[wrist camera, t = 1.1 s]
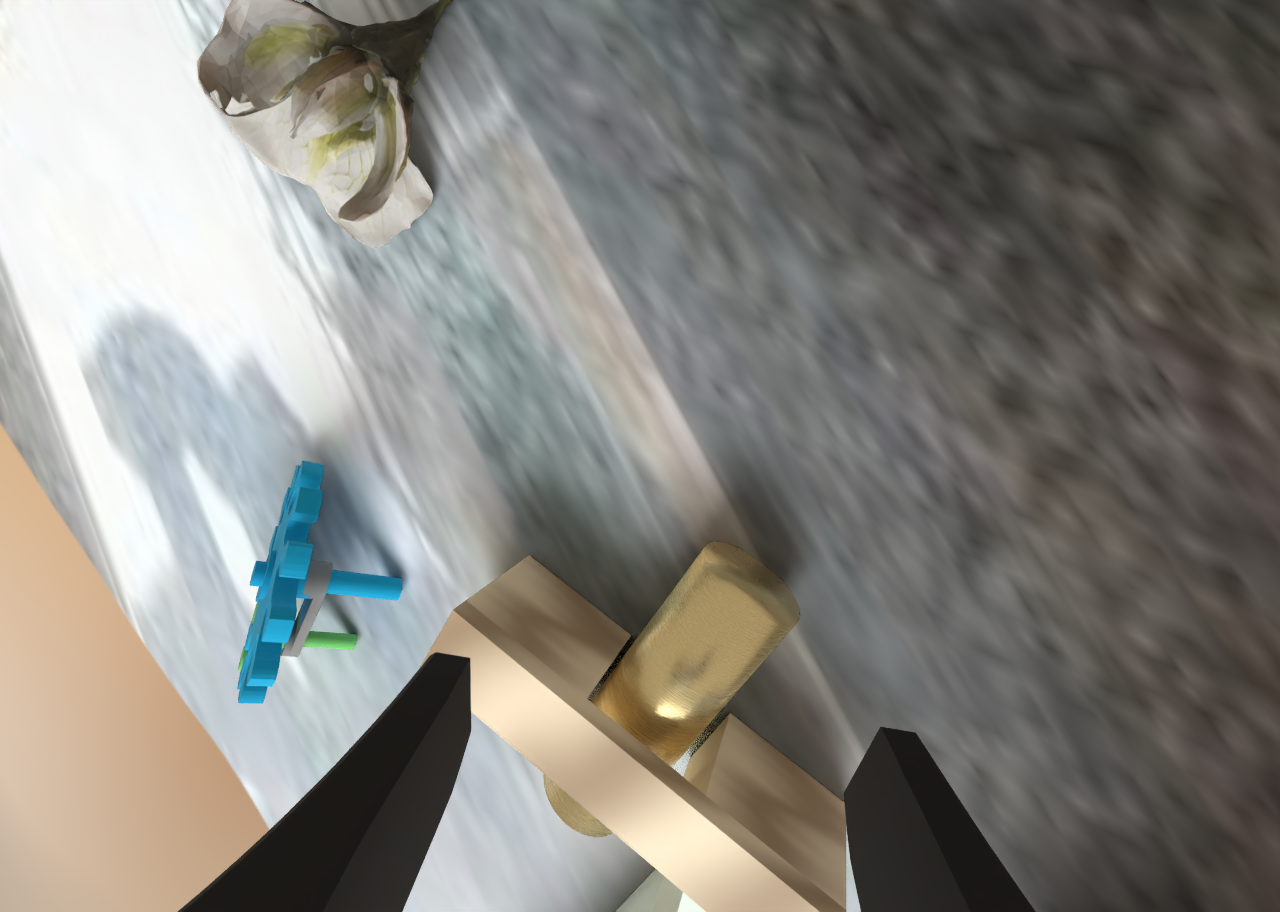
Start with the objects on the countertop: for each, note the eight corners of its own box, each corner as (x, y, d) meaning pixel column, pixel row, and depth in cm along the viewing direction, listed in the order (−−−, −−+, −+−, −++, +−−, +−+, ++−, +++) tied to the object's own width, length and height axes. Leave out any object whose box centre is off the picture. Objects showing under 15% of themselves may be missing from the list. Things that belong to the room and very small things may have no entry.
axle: (724, 531, 23) (686, 558, 20) (809, 601, 22) (786, 643, 19) (578, 727, 27) (525, 779, 24) (643, 794, 26) (597, 859, 23)
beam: (845, 803, 23) (846, 933, 18) (799, 847, 24) (788, 981, 19) (529, 555, 26) (452, 609, 21) (499, 604, 27) (419, 667, 22)
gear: (298, 410, 26) (256, 601, 19) (433, 444, 29) (440, 618, 22) (246, 568, 31) (199, 763, 24) (366, 582, 35) (354, 758, 28)
